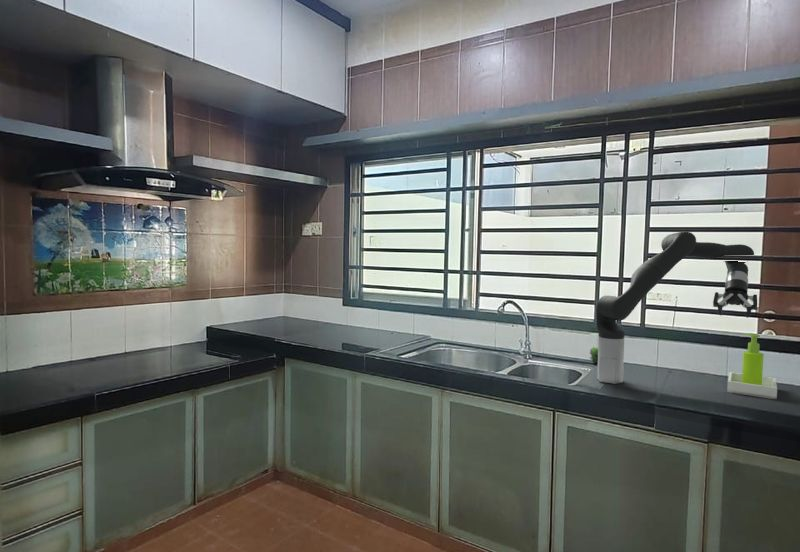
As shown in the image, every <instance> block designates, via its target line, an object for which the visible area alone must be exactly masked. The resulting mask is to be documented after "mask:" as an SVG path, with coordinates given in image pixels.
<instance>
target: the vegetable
mask: <svg viewBox="0 0 800 552" xmlns="http://www.w3.org/2000/svg"><path fill="white" fill-rule="evenodd" d="M589 354H590V356H591V359H592V361H593V362H594V363H597V364H598V346H596V347H595V346H593V347H592V348H591V349H590V352H589Z"/></svg>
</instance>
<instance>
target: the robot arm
mask: <svg viewBox="0 0 800 552" xmlns="http://www.w3.org/2000/svg"><path fill="white" fill-rule="evenodd" d="M660 246H661V249H662V251H661V252H659V253H657V254H655V255H653V256H652V257H651V258H648V259H647V260H646V261H644V262H643V263H642V264H641V265H640V266H638V267H637V268H636V269H635V271H633V273H632V275H631V277H630V278H631V279H630V284H629V285H630V286H628V289H626V290H625V291H624V292H623V293H622V294H621V295H619V296H617V295H615V296H614V295H603V296H601V297H599V299H598V300H597V302H596V311H595V313H596V315H595V316H596V317H595V319H596V321H595V322H596V328H597V329H596V330H597V332H598V341H597V342H598V344H597V345H598V346H597V347H598V363H597V380H598V382H600V383H607V384H613V385H616V384H623V382H624V358H625V357H624V355H625V330H623V328H621V327H619V325H618V324H617V321H618V322H619V321H620V322H621V321H624V320H626V319H627V318H628V317H629V316H630V315H631V313H633V311H634V310H635V309H636V308H637V306H638V305H639V303H640V302H641V300H643V299H644V298H645V296H646V295H647V294H648V293H649V292H650V291H651V290H652V289H654V288H655V286H657V284H659V283H660V281H661V280H663V278H664V277H665V276H667V274H668V273H669V272H671V270H673V268H674V267H676V265H677V264H678V263H679V262H680V261H682V260H683V259H685V258H686V257H695V258H703V259H707V258H708V259H709V260H712V259H711V258H717V257H721V256H724V255H754V256H755V252H754V250H753V249H752V248H751V246H748V245H747V244H722V243H719V242H718V243H717V242H708V241H706V242H701V241H700V242H697V238H696V236H695V234H694V233H692V232H690V231H679V232H674V233H670V234H667V235H666V236H665V237H663V239H662V241H661V245H660ZM724 263H725V265H726V269H727V271H726V273H727V274H726V277H725V284H724V285H725V286H724V293H719V292H714V296H713V301H712V307H714V308H717V314H718V315H719V316H723V309H724V307H728V305H730V306H742V307H743V308H745V309H746V314H745V316H746V317H745V318H747V319H748V318H749V317H751V316H752V311H753V310H754V311H757V310H758V294H755V293H754V294H753V295H749V294H748V291H749V290H748V289H749V288H748V287H749V278H748V277H749V267H748V265H747V264H746V263H747V262H738V261H724ZM721 298H722V300H720V299H721ZM719 300H720V301H719ZM748 300H750V301H751V302H752V304H750V302H749V301H748Z"/></svg>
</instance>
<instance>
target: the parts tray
mask: <svg viewBox="0 0 800 552" xmlns="http://www.w3.org/2000/svg"><path fill="white" fill-rule="evenodd" d="M726 391H727V393H732V394H737V395H743V396H744V395H745V396H751V397H757V398H758V397H759V398H762V399H769V400H770V399H771V400H778V399H777V397H778V385H777V379H776V377H769V376H763V375H762V385H755V384H747V383H742V373H737V372H732V371H729V373H728V377H727V389H726Z"/></svg>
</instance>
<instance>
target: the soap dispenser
mask: <svg viewBox="0 0 800 552" xmlns="http://www.w3.org/2000/svg"><path fill="white" fill-rule="evenodd" d="M745 335H746V336H750V337H751V339H750V341H749V342H748V343H747V350H746V351H743V353H742V372H741V374H742V383H747V384H755V385H762V376H763V374H764V373H763V370H764V368H763V367H764V353H762V352H760V346H761V345H760V343H759V342H758V338H760V337H761V336H760V335H759V334H756V333H752V332H751V333H749V332H747V333H743V336H745Z"/></svg>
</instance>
